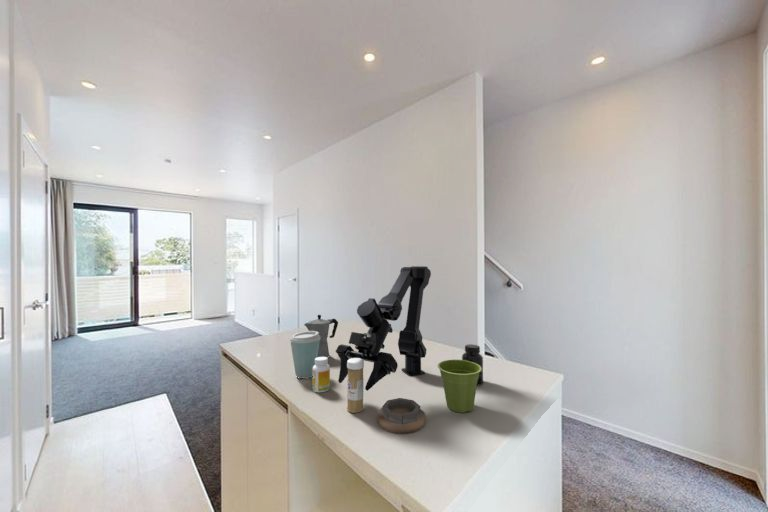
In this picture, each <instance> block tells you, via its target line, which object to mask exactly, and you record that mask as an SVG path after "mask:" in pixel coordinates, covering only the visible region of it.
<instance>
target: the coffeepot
mask: <svg viewBox="0 0 768 512" xmlns="http://www.w3.org/2000/svg"><path fill="white" fill-rule="evenodd" d="M331 324H333V326H332V327H333V329H332V332H331V335H329V329H330V325H331ZM338 324H339V321H338V320H337V319H336V318H331V319H330V318H329V319H323V318H322V315H321V314H317V319H313V320H310V321H308V322H305V323H304V324H303V326H305V327H306V328H307V331H317V332H319V336H320V338H321V339H320V342H319V349H318V357H328V356H330V352H329V343H328V338H329V339H333V338H335V335H336V332H337V328H338Z"/></svg>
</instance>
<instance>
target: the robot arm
mask: <svg viewBox="0 0 768 512" xmlns="http://www.w3.org/2000/svg"><path fill="white" fill-rule="evenodd" d="M431 276H432V271H431V269H429V268H428V266H424V265H422V266H415V265H412V266H403V267H401V269H400V271H399V275H398V277H397V278H396V280H395V282H394V284H393V285H392V287H391V289H390V291H389V292H388V294H386V295H385V296H383V297H381V298H380V300H379V301H378V303H377V300H376V298H371V297H369V298H368V300H366V301H364V302H362V303H361V304H360V305H358V307H357V308H356V309H357V310H356V313H357V315H358V317H359V318H360V319H361V321H362V322H363V324H364V325H365V326H366V327H367V328H368V330H367V332H363V333H359V332H355V331H351V332H350V337H349V340H348V344H349V345H347V344H341V343H340V344H338V346H337V347H336V349H335V353H336V354H337V356H338V358H339V359H340V370H339V374H338V380H337V381H338V383H340V384H342V383H343V382H344V380H345V379H346V377H348V368H347V361H348V360H349V359H351V358H361V359H363V360H364V362H368V363H373V368H372V371H371V372H370V375H369V377H368V379H367V381H366V384H365V388H364V389H365V390H366V391H369V390H371V388H373V386H374V385H376V384H377V383H378V382H379V381H380V380H382V379H383V378H384V377H386V376H388V375H389V376H390V375H391V373H396V372H397V369H398V368H399V367H398V366H399V365H398V362H397V360H396V359H395V357H394V356H393V354H392V353H391V352H390V353H388V352H384V351H381V349H383V350H384V349H385V344H384V342H385V341H386V338H387V336H388V334H390V333H391V334H392V333H393V331H394V330H393V328H392V324H391V323H389V321H397V320H398V319H400V316H401V313H402V310H403V306H402V302H403V299H404V297H405V295H406V293H407V292H408V290H409V288H410V290H409V291H410V292H409V299H408V306H407V307H408V308H407V315H406V322H405V323H406V324H405V327H404V328H403V329H402V330H400V331H399V334H398V336H399V337H398V340H397V346H398V350H399V355H400V356H404V358H405V359H404V366H405V367H403V368H401V371H402V372H404V373H405V374H406V375H407V376H410V377H411V376H416V375H422V374H425V371H424V370H423V369H422V359H423V358H425V357H426V355H427V348H426V346H425V344H424V342H423V335H422V332H421V330H420V323H421V313H422V307H423V306H422V305H423V298H424V297H423V296H424V290H425V288H426V287H427V286H428V285H429V282H430V278H431ZM351 344H352V345H354V348H355V349H353V347H352V346H351ZM355 350H357V351H355Z"/></svg>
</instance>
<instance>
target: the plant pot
mask: <svg viewBox="0 0 768 512" xmlns="http://www.w3.org/2000/svg"><path fill="white" fill-rule="evenodd" d="M437 368H438V369H439V373H440V377H441V379H442V384H443V390H444V395H445V404H446V407H447V408H448V409H450V410H451V411H453V412H456V413H463V414H464V413H467V412H471V411H473V410H474V406H475V401H476V400H475V399H476V391H477V386H478V385H477V380H478V378H479V372H481V370H482V368H481V366H480V365H478V364H476V363H474V362H471V361H466V360H462V359H445V360H442V361H440V362H439V363H438V364H437Z"/></svg>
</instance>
